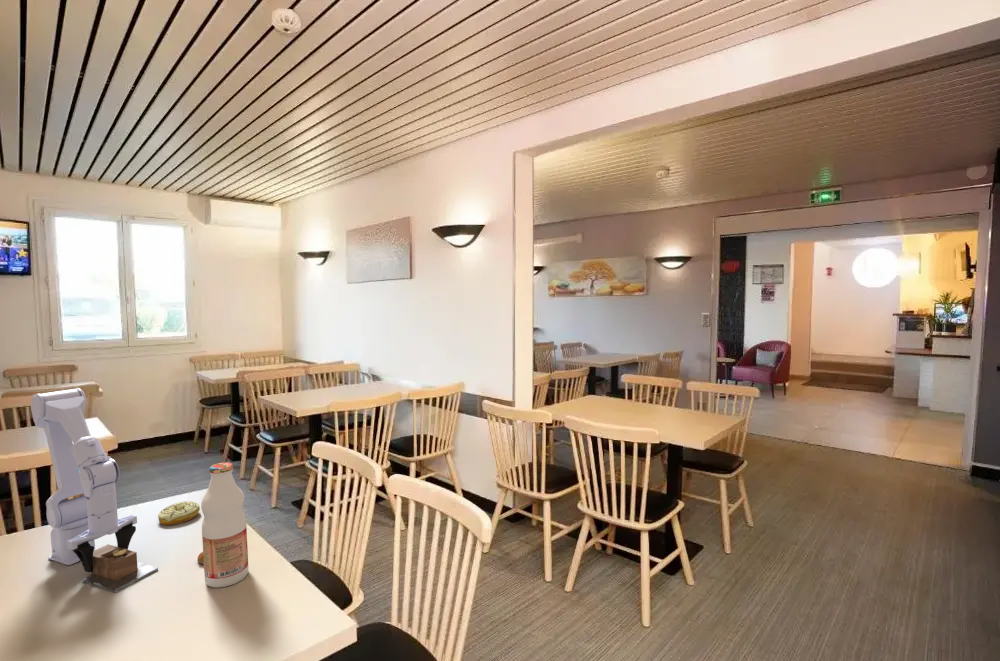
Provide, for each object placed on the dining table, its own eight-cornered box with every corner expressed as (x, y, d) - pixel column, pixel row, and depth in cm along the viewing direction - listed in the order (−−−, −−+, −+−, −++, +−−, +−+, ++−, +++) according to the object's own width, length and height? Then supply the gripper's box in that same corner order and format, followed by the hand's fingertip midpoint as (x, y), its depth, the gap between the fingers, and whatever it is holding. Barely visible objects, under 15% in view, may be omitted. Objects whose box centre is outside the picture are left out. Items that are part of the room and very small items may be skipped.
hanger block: (87, 571, 123) (85, 553, 123) (109, 561, 128) (108, 544, 128) (116, 581, 119) (114, 562, 119) (137, 570, 124) (136, 552, 124)
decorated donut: (151, 521, 152) (151, 509, 152) (189, 508, 161) (188, 496, 161) (168, 529, 147) (167, 517, 146) (206, 515, 156) (205, 504, 155)
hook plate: (82, 581, 120) (80, 556, 120) (126, 560, 129) (125, 537, 129) (114, 592, 116) (112, 566, 115) (158, 570, 125) (156, 545, 125)
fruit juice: (195, 585, 118) (188, 470, 116) (226, 564, 127) (220, 457, 125) (228, 591, 116) (222, 474, 114) (257, 569, 125) (252, 460, 123)
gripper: (78, 526, 115) (83, 582, 116) (143, 501, 129) (146, 552, 130) (60, 521, 118) (64, 576, 119) (125, 497, 131) (129, 547, 132)
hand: (106, 563), depth 124 cm, fingers open, 7 cm apart
